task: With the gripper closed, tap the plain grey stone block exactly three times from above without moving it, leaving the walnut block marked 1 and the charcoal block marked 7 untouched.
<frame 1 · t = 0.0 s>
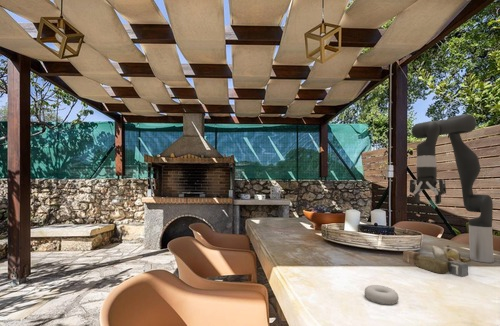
hand: (427, 203, 121), 29 cm above the table, fingers open, 8 cm apart
walnut block: (411, 262, 133), on the table
charcoal block: (458, 274, 116), on the table
ceramic sculpture: (449, 263, 133), on the table
donut: (381, 300, 89), on the table
stone block: (431, 270, 122), on the table
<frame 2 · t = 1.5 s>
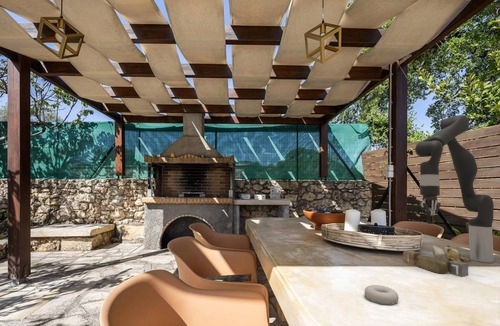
hand: (430, 223, 123), 20 cm above the table, fingers closed
nothing on the table moved.
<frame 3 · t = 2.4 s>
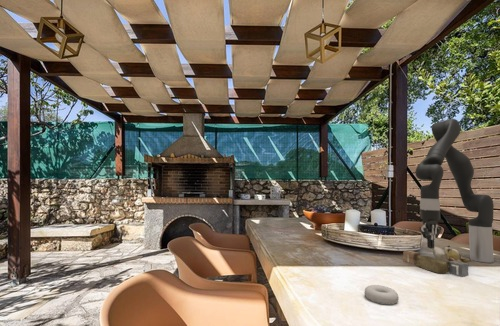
hand: (430, 248, 122), 9 cm above the table, fingers closed
nothing on the table moved.
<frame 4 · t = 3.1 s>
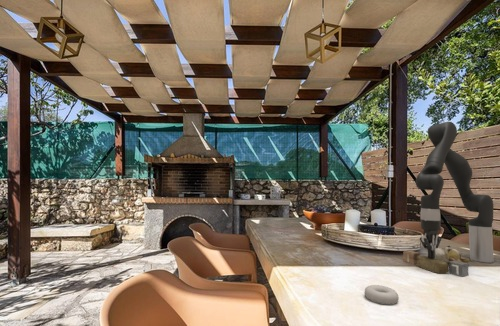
hand: (431, 258, 122), 5 cm above the table, fingers closed
nothing on the table moved.
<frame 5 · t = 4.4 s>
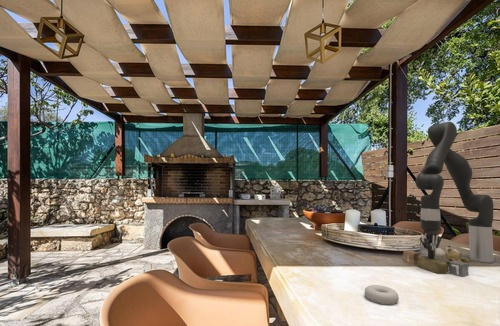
hand: (431, 258, 122), 5 cm above the table, fingers closed
nothing on the table moved.
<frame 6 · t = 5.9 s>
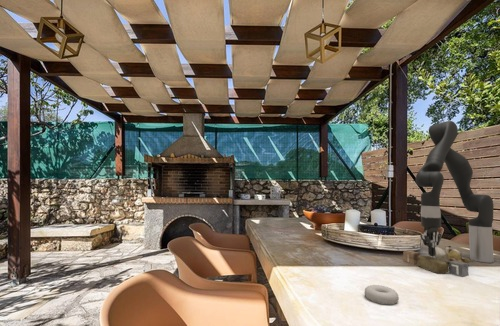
hand: (432, 255, 122), 6 cm above the table, fingers closed
nothing on the table moved.
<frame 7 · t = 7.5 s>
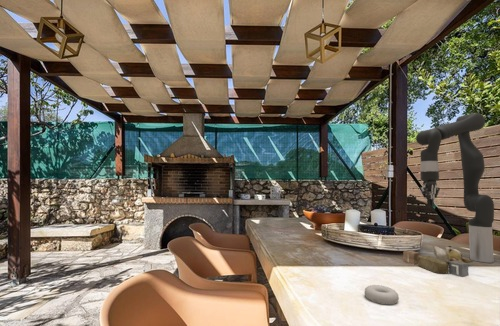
hand: (430, 206, 132), 27 cm above the table, fingers closed
nothing on the table moved.
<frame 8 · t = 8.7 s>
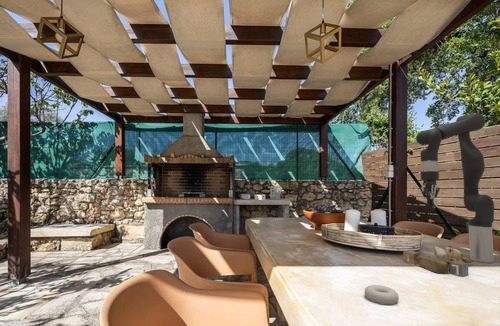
hand: (430, 206, 132), 27 cm above the table, fingers closed
at the end: stone block moved 0.9 cm from its start; stone block tilted 0°; the gripper is holding nothing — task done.
